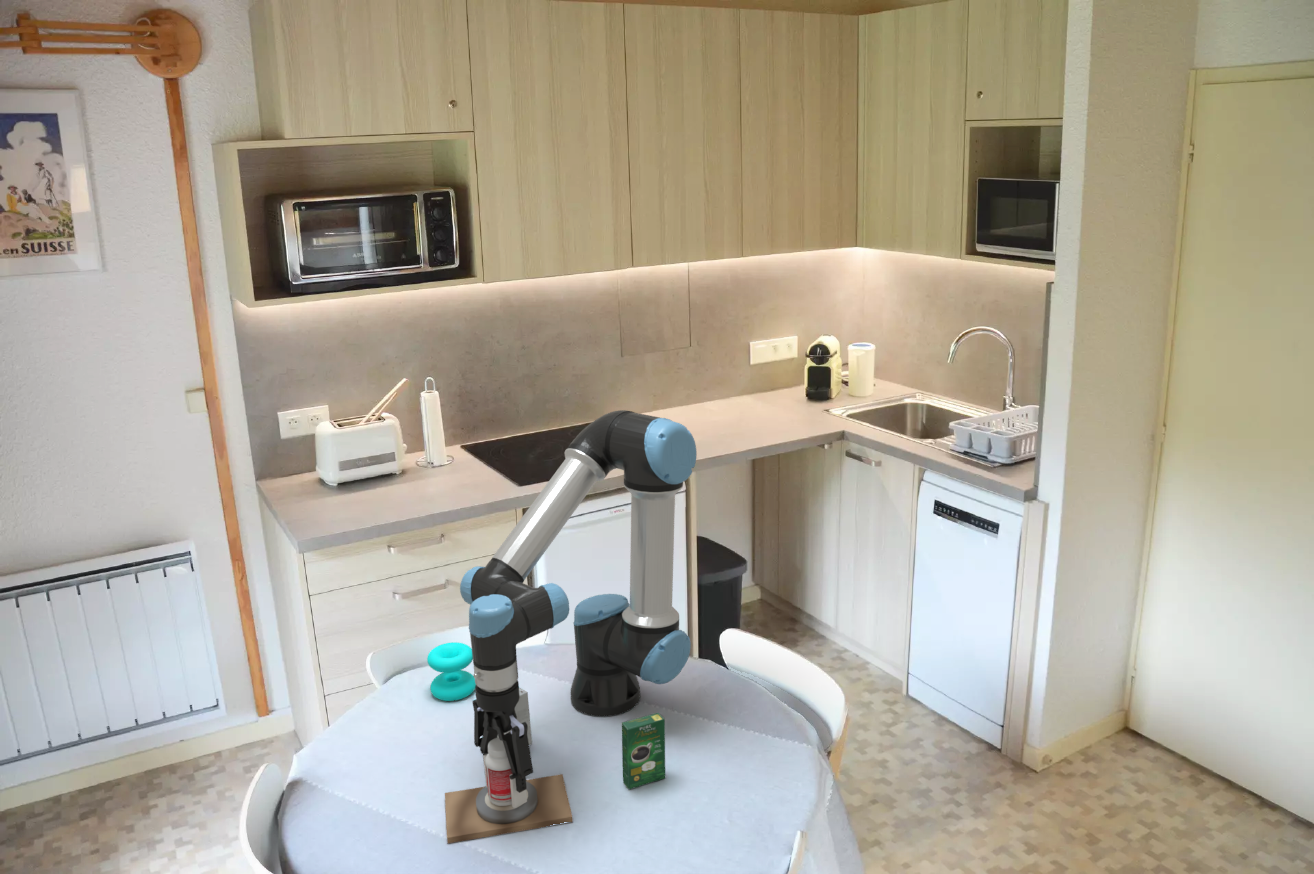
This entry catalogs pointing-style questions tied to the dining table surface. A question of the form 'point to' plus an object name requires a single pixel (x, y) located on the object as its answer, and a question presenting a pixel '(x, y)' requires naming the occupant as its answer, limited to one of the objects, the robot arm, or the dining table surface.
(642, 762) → the coffee box
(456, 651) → the donuts
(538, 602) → the robot arm
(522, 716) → the skincare box
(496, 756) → the pill bottle
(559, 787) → the seat board
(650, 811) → the dining table surface
